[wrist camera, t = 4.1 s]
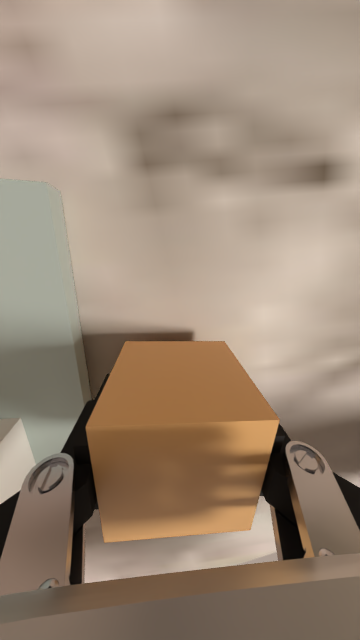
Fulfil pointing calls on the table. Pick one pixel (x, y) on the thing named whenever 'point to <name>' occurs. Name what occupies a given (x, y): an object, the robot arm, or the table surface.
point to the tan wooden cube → (178, 442)
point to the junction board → (36, 332)
